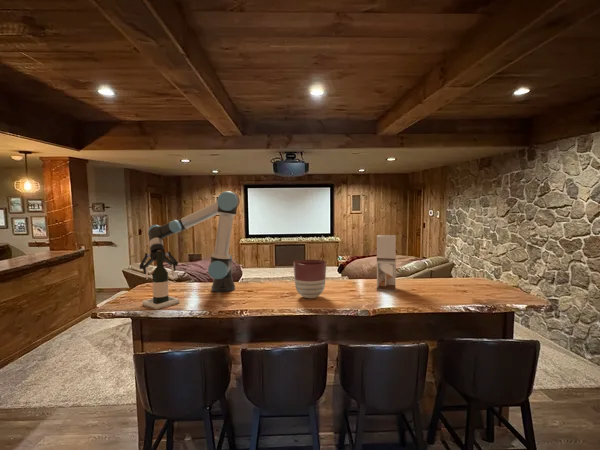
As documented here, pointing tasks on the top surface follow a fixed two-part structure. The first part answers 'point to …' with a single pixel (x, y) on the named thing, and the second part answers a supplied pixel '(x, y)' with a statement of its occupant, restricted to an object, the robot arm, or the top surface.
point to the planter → (310, 277)
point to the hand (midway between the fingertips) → (160, 276)
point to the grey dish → (157, 306)
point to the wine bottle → (160, 281)
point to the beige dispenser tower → (386, 262)
